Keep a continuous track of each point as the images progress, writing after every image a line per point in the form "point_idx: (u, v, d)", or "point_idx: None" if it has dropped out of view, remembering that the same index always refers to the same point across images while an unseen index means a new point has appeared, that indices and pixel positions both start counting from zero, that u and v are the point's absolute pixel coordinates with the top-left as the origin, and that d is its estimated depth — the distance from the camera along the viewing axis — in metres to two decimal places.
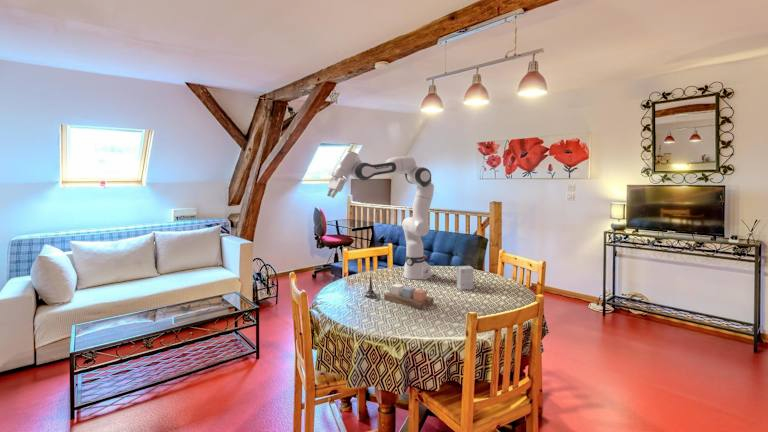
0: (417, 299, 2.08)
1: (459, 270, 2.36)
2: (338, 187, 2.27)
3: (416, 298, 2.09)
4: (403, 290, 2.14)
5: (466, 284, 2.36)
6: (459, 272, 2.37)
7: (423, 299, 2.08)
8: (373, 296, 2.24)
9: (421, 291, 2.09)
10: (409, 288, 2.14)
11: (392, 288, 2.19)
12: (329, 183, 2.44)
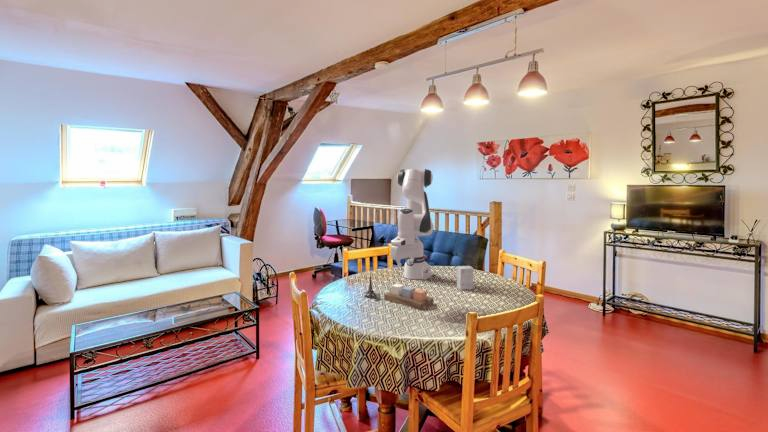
0: (417, 299, 2.08)
1: (459, 270, 2.36)
2: None
3: (416, 298, 2.09)
4: (403, 290, 2.14)
5: (466, 284, 2.36)
6: (459, 272, 2.37)
7: (423, 299, 2.08)
8: (373, 296, 2.24)
9: (421, 291, 2.09)
10: (409, 288, 2.14)
11: (392, 288, 2.19)
12: (397, 254, 2.04)
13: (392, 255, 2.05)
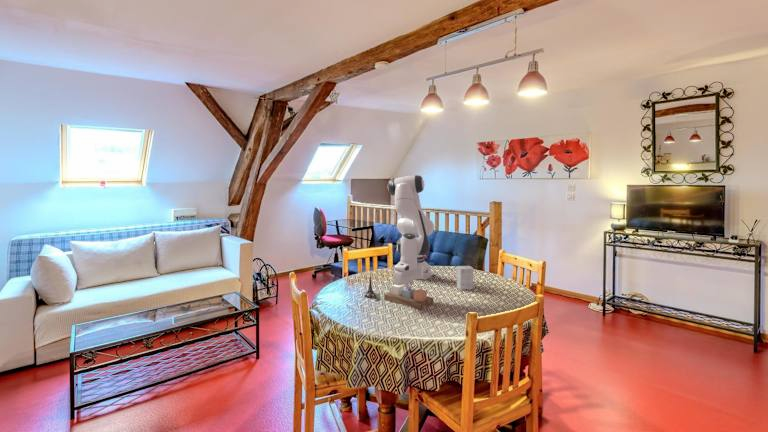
0: (417, 299, 2.08)
1: (459, 270, 2.36)
2: None
3: (416, 298, 2.09)
4: (403, 291, 2.14)
5: (466, 284, 2.36)
6: (459, 272, 2.37)
7: (423, 299, 2.08)
8: (373, 296, 2.23)
9: (421, 291, 2.09)
10: None
11: (392, 288, 2.19)
12: (401, 280, 2.06)
13: (396, 281, 2.06)
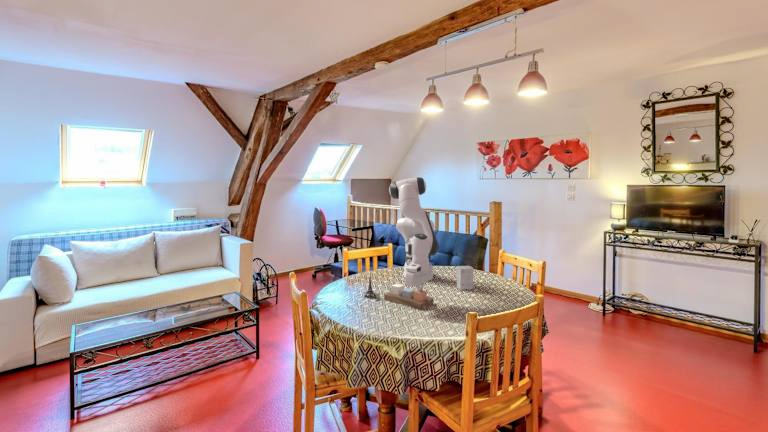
0: (417, 299, 2.08)
1: (459, 270, 2.36)
2: None
3: (416, 298, 2.09)
4: (403, 292, 2.14)
5: (466, 284, 2.36)
6: (459, 272, 2.37)
7: (423, 299, 2.08)
8: (372, 296, 2.23)
9: (421, 291, 2.09)
10: (409, 290, 2.14)
11: (392, 288, 2.19)
12: (413, 281, 2.01)
13: (408, 282, 2.01)
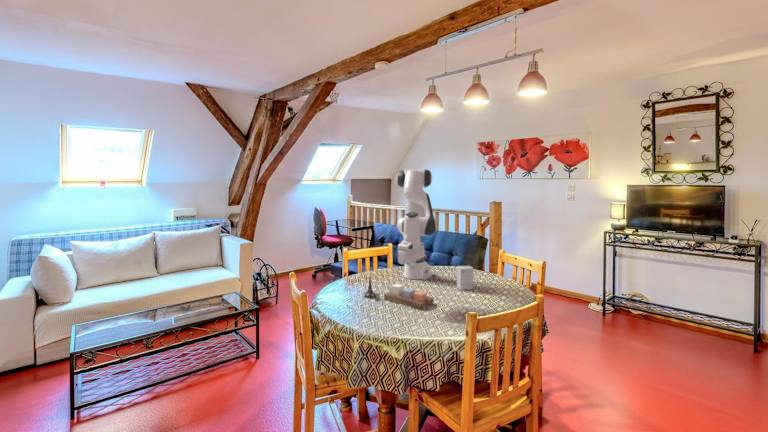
0: None
1: (459, 270, 2.36)
2: None
3: (416, 300, 2.09)
4: (403, 292, 2.14)
5: (466, 284, 2.36)
6: (459, 272, 2.37)
7: None
8: (372, 296, 2.23)
9: (421, 293, 2.09)
10: (409, 290, 2.14)
11: (392, 288, 2.19)
12: (405, 259, 2.04)
13: (400, 260, 2.04)
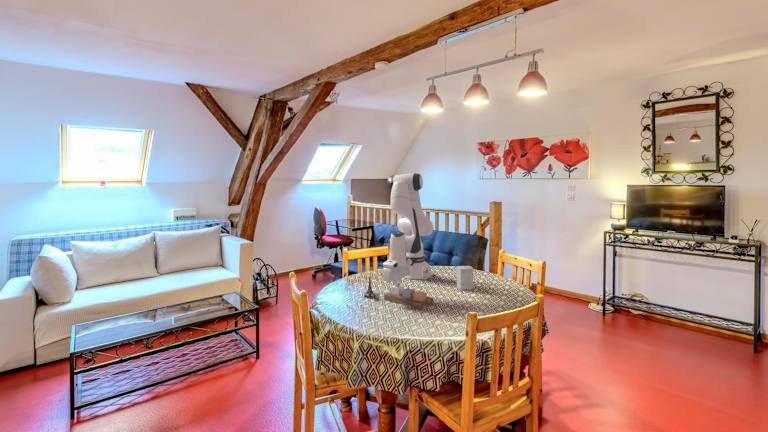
0: None
1: (459, 270, 2.36)
2: None
3: (416, 300, 2.09)
4: (403, 292, 2.14)
5: (466, 284, 2.36)
6: (459, 272, 2.37)
7: None
8: (372, 296, 2.23)
9: (421, 293, 2.09)
10: (409, 290, 2.14)
11: (392, 289, 2.19)
12: (390, 277, 2.10)
13: (385, 277, 2.11)
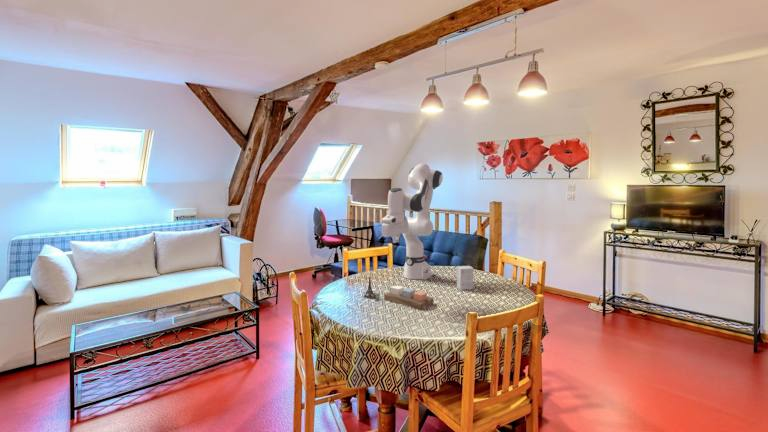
0: None
1: (459, 270, 2.36)
2: None
3: (416, 300, 2.09)
4: (403, 292, 2.14)
5: (466, 284, 2.36)
6: (459, 272, 2.37)
7: None
8: (372, 296, 2.23)
9: (421, 293, 2.09)
10: (409, 290, 2.14)
11: (392, 290, 2.19)
12: (388, 232, 2.12)
13: (383, 232, 2.13)
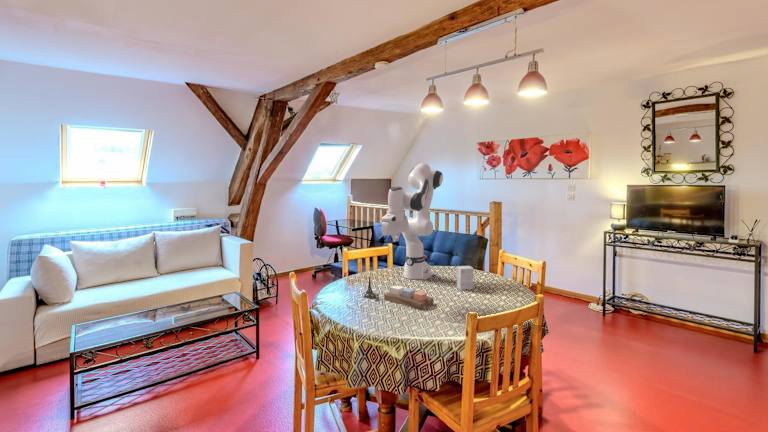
0: None
1: (459, 270, 2.36)
2: None
3: (416, 300, 2.09)
4: (403, 292, 2.14)
5: (466, 284, 2.36)
6: (459, 272, 2.37)
7: None
8: (372, 296, 2.23)
9: (421, 293, 2.09)
10: (409, 290, 2.14)
11: (392, 290, 2.19)
12: (388, 230, 2.12)
13: (383, 231, 2.13)
